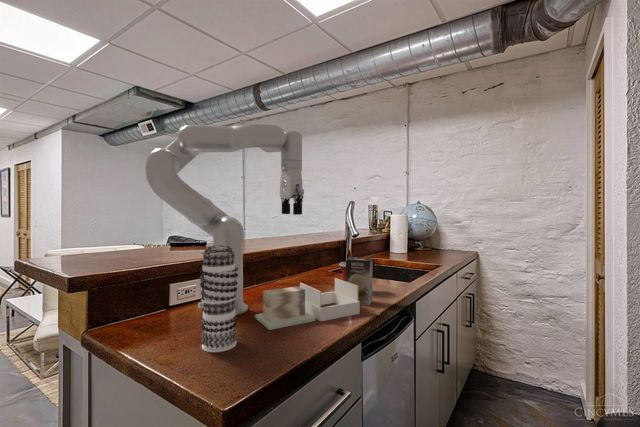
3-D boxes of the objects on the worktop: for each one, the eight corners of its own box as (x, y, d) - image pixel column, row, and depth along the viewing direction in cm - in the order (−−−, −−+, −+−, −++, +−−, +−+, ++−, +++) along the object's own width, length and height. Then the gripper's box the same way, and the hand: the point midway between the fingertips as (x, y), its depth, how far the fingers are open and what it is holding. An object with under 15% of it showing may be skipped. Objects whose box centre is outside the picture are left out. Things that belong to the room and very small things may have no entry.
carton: (320, 321, 99) (320, 292, 99) (298, 308, 112) (298, 282, 112) (359, 313, 106) (359, 286, 106) (335, 302, 119) (335, 277, 119)
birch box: (269, 321, 96) (269, 294, 96) (263, 316, 100) (263, 291, 100) (305, 315, 102) (305, 289, 102) (298, 310, 106) (298, 286, 106)
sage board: (269, 330, 92) (269, 326, 92) (255, 317, 102) (255, 314, 102) (315, 320, 100) (315, 317, 100) (297, 310, 110) (297, 307, 110)
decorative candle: (240, 349, 79) (240, 247, 79) (200, 355, 76) (199, 249, 76) (236, 335, 88) (236, 243, 88) (200, 340, 85) (199, 245, 84)
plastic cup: (339, 287, 141) (339, 260, 141) (365, 288, 139) (365, 260, 139) (337, 294, 130) (337, 264, 130) (365, 295, 129) (365, 265, 128)
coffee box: (344, 303, 118) (344, 259, 117) (348, 298, 124) (348, 256, 123) (369, 305, 115) (369, 260, 114) (372, 301, 121) (373, 258, 120)
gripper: (272, 168, 122) (272, 214, 123) (292, 163, 107) (292, 214, 108) (290, 169, 126) (290, 213, 126) (312, 164, 111) (312, 214, 111)
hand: (291, 214), depth 117 cm, fingers open, 9 cm apart
